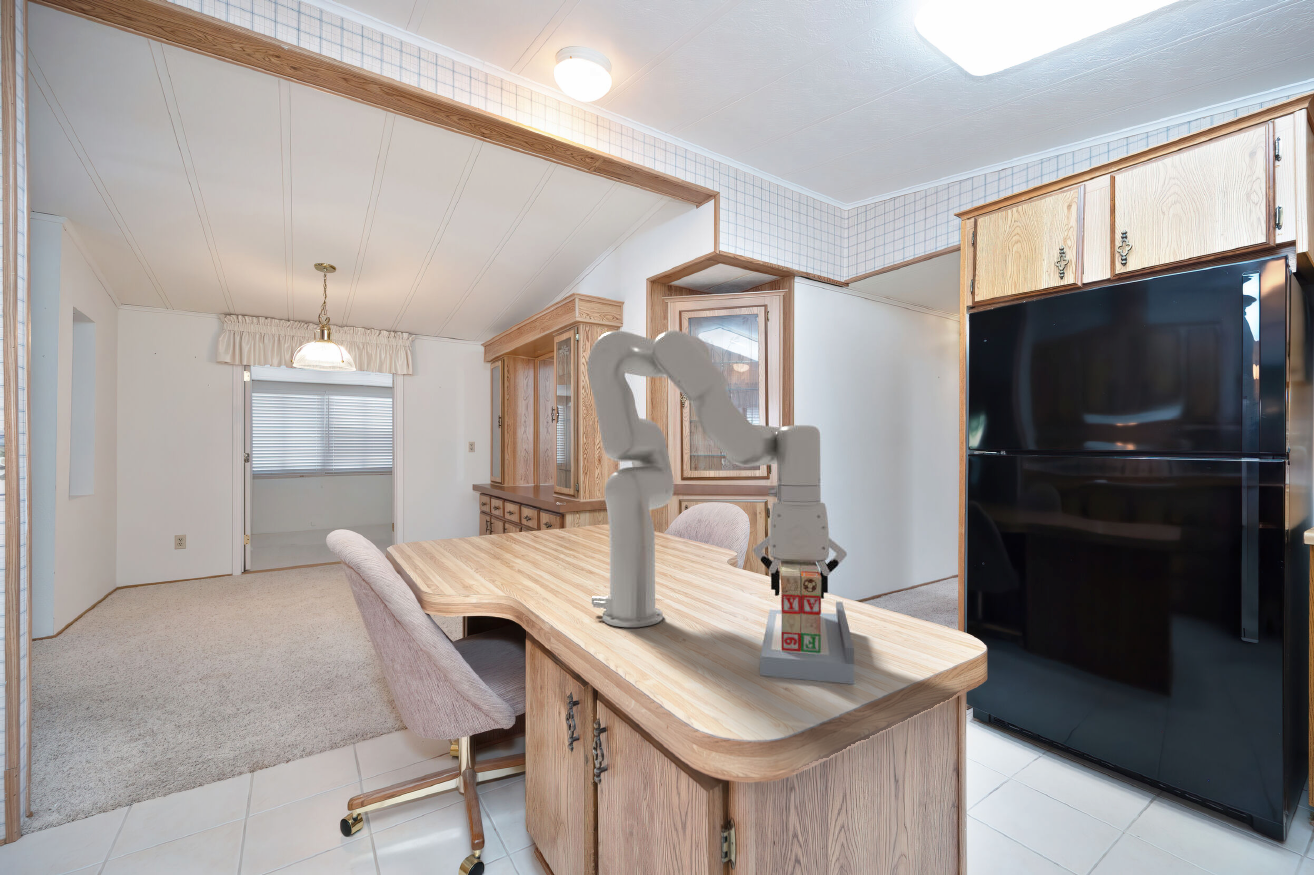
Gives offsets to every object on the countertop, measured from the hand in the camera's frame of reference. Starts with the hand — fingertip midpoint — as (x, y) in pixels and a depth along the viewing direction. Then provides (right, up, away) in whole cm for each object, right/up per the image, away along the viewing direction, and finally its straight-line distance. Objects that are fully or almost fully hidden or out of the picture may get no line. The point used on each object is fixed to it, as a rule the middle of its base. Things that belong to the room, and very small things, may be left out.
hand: (799, 594), depth 100 cm
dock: (+1, -10, 0) cm, 10 cm away
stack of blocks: (0, -7, 0) cm, 7 cm away
